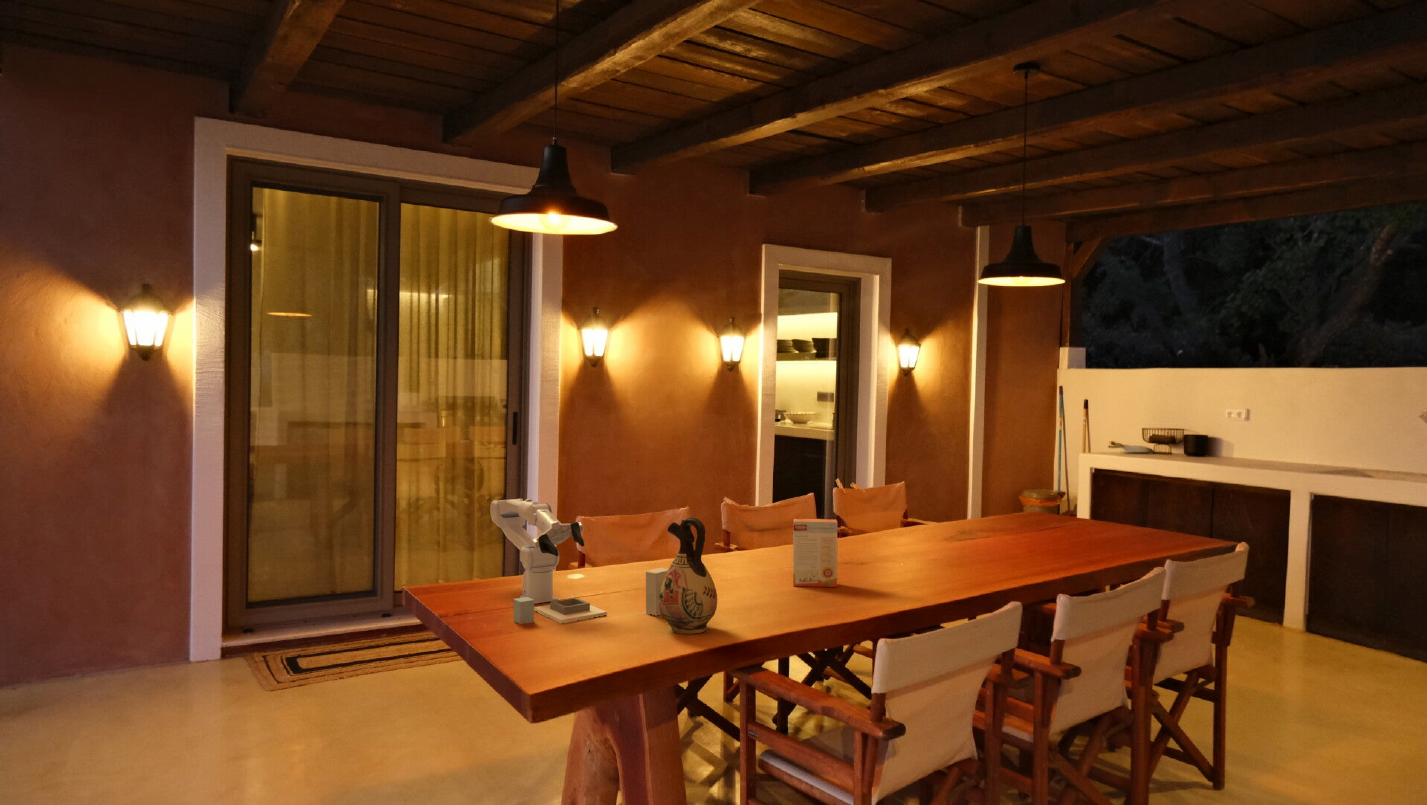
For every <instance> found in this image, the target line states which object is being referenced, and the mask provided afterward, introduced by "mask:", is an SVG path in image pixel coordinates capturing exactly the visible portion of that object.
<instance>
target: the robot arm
mask: <svg viewBox="0 0 1427 805" xmlns="http://www.w3.org/2000/svg"><path fill="white" fill-rule="evenodd" d="M489 506H490V507H489V514H490V517H491V520H492V522H493V523H494V524H495V525H496V526H497V527H498V528H500V529H501V531H502V532H503V534H504V535H505V537H506V538H507V539H508V540H509V541H510V542H511V543H512V544H513V545H514V546H515V547H516V548H517V549H518V550H519V560H520V562H521V564H522V566H523V568H524V569H525V571H524V572H523V575H522V595H520V596H519V598H523V597H529V598H531V599H533V600H534V605H536V604H542V603H548V602H551V601H557V600H559V597H556V596H554V593H553V592H554V590H553V588H554V586H553V584H554V582H553V580H554V579H553V578H554V577H553V576H554V572H553V571H554V570H556V567H557V565H558V564H559V561H560V553H559V552H560V551H559V550H558V547H557V546H558V545H561V544H562V543H563V542H565V541H566V540H568V538H570V537H571V536H572V538H573V542H575V543H577V544H578V545H579V546H581V547H584V546H585V541H584V539H583V537H582V533H581V532H583V531H584V526H583V524H582V522H580V521H575V522H572V523H561V522H560V520H558V518H557V517H556V516H555V515H554V514H553V510H552V506H551V504H549V503H548V502H546V503H539V501H533V499H532V498H526V499H525V500H524V499H523V498H515V499H503V500H502V499H501V500H497V499H496V500H492V502H491V503H490V505H489ZM526 521H527V525H528V526H533V527H536V528H537V529H538V530H539V531H540V533H541V534H539V535H538V536H537V537H533V535H531V533H529V532H528V531H527V530H526V529H525V528H524V526H525V525H526ZM556 545H557V546H556Z"/></svg>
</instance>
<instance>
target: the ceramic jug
mask: <svg viewBox="0 0 1427 805" xmlns="http://www.w3.org/2000/svg"><path fill="white" fill-rule="evenodd" d="M692 526H693V527H694V528H695V530H696V539H695V535H694V533H693V531H692V529H691V527H692ZM667 532H668V533H669V534H671V535H673V536H675V538H677V539H678V540H679V543H680V545H679V550H678V552H677V554H676V556H675V558H674V559H673V560H672V562H671V564H670V565H669V567H668V568H667V569H668V571H667V572H666V574H665V576H664V578H663V580H662V584H661V588H660V593H659V608H660V612H661V615H662V618H664V620H665V621H666V622H667V624H668V625H669V626H670V628H671V631H672V632H674V633H676V632H678V633H677V634H681V635H682V634H685V635H687V634H688V635H694V634H701V633H704V632H705V631H706V630H707V629H708V625H707V624H709V622H710V621H711V620H712V618H713V617H714V616H715V614H716V611H717V608H718V593H717V589H716V586H715V582H714V580H713V577H712V576H711V573H710V571H709V570H708V568H707V567H706V565H705V564H704V562H703V561H702V556H703V555H702V554H703V552H704V548H705V547H704V546H705V542H706V527H705V525H704V523H703V522H702V521H701V520H699V518H696V517H689V518H688V517H687V518H686V519H682V520H681V522H680V524H678V523H677V522H674V521H673V522H672V523H671V524H670V525H669V526H668V527H667ZM693 543H695V546H694V544H693ZM717 636H718V635H717Z"/></svg>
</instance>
